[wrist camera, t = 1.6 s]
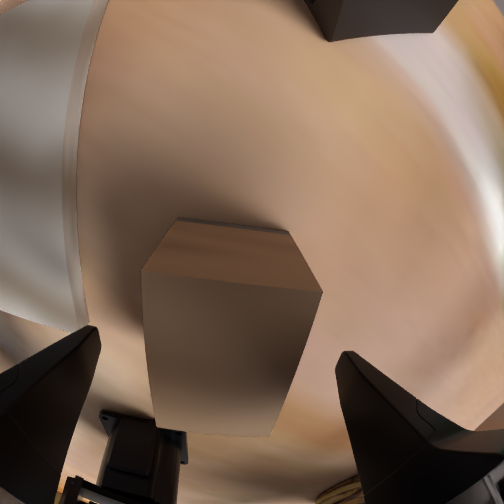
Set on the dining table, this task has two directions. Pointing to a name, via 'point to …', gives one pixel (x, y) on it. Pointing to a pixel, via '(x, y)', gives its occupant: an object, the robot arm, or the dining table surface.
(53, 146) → the board
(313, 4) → the phone stand
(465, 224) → the dining table surface
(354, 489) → the tankard
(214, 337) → the block
